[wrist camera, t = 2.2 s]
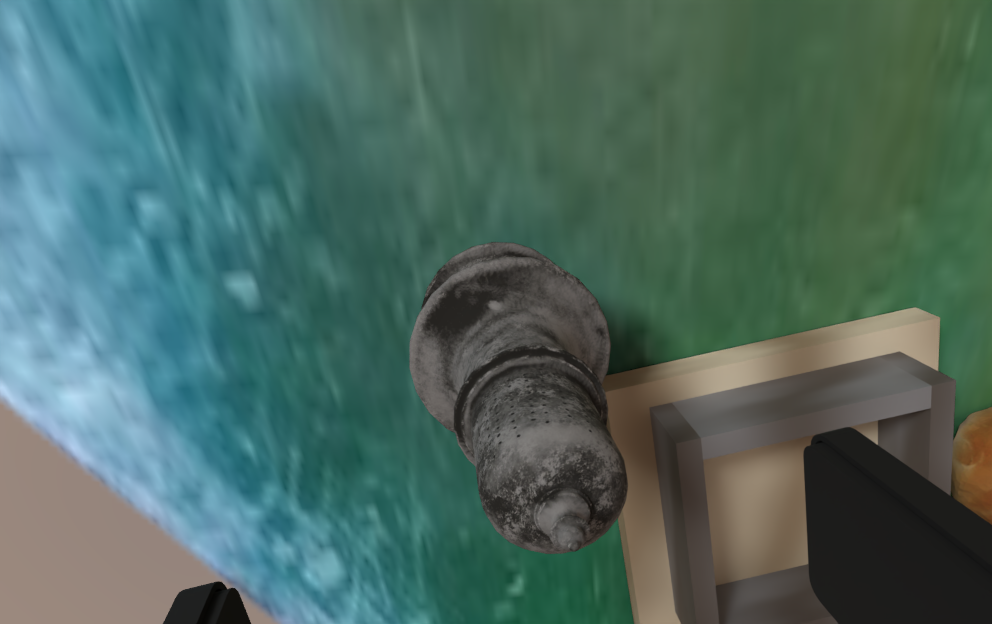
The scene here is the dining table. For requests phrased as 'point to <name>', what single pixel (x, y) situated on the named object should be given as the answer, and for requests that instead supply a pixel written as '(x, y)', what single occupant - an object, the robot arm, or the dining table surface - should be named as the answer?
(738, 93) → the dining table surface
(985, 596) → the robot arm
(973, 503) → the pastry
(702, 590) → the collar board
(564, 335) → the salt shaker
